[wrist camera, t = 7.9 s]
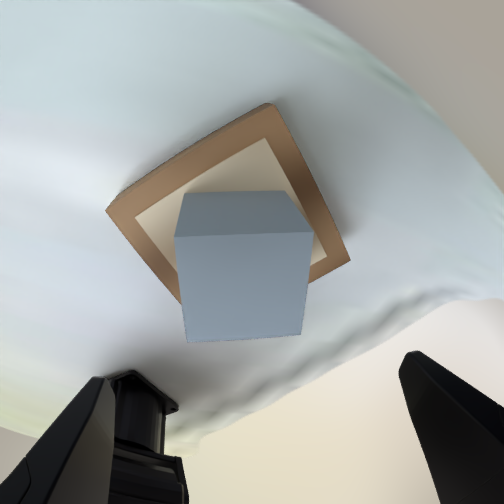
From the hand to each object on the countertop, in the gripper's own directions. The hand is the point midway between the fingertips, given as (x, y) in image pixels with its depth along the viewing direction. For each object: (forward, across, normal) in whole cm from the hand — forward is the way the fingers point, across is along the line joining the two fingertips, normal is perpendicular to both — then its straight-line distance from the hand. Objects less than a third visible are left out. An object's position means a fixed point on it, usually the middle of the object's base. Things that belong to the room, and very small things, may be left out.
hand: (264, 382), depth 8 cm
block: (+10, 0, 0) cm, 10 cm away
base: (+12, 0, 0) cm, 12 cm away
